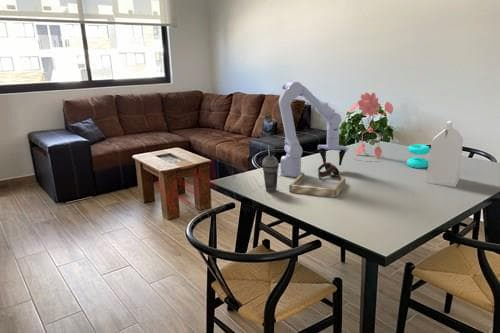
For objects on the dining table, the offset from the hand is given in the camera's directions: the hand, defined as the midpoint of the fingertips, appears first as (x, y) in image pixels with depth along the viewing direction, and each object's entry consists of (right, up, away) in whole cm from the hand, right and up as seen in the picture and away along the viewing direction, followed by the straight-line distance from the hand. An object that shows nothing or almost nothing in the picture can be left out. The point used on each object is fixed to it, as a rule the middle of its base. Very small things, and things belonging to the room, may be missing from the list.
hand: (332, 164), depth 188 cm
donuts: (+42, -1, +1) cm, 42 cm away
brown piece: (-4, -6, -9) cm, 12 cm away
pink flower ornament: (+22, +4, +19) cm, 30 cm away
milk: (+44, -7, -20) cm, 49 cm away
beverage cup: (-31, -12, -23) cm, 41 cm away
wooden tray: (-11, -10, -22) cm, 27 cm away
